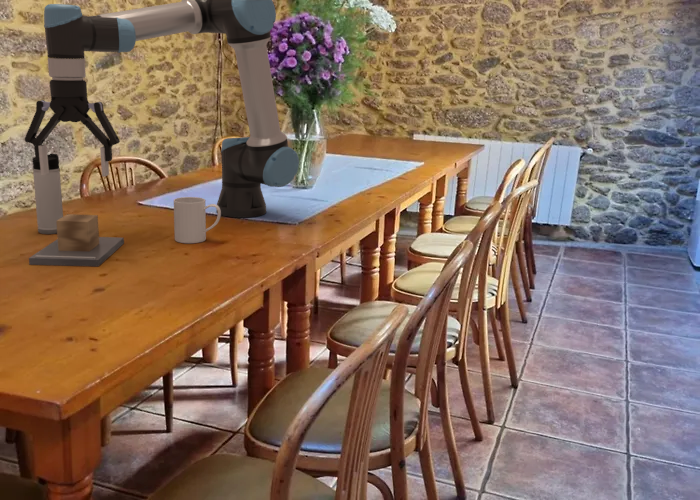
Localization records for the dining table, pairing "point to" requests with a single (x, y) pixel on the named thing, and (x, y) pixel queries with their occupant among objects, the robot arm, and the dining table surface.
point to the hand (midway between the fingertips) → (75, 174)
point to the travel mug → (48, 195)
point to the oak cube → (77, 232)
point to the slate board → (77, 254)
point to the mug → (191, 219)
